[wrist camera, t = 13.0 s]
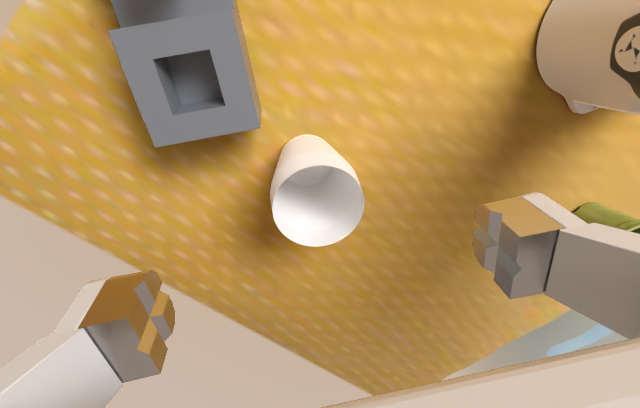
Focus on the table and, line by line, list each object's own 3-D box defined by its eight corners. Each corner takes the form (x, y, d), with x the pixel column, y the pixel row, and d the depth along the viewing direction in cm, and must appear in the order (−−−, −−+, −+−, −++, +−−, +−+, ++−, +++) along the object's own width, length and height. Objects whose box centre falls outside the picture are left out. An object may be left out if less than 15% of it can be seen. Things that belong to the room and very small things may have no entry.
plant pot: (622, 188, 52) (682, 219, 44) (601, 240, 57) (652, 276, 49) (563, 195, 51) (614, 228, 44) (546, 248, 56) (590, 285, 48)
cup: (357, 148, 43) (385, 192, 33) (317, 204, 46) (331, 260, 36) (294, 109, 40) (304, 145, 30) (255, 172, 43) (252, 224, 33)
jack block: (206, -126, 30) (191, -160, 24) (261, 109, 40) (260, 128, 34) (84, -107, 29) (36, -137, 23) (170, 126, 39) (152, 148, 33)
